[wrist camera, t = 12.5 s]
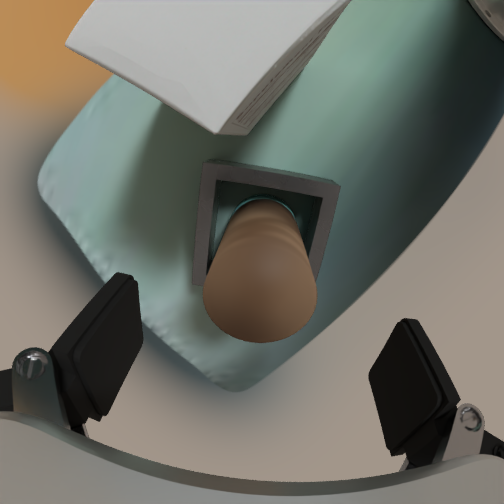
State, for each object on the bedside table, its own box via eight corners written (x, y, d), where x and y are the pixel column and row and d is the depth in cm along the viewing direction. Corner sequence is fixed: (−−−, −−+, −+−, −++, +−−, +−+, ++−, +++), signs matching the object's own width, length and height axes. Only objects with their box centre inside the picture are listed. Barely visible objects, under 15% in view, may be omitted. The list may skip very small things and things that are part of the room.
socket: (332, 180, 19) (340, 186, 17) (305, 286, 23) (309, 302, 21) (210, 159, 19) (202, 162, 17) (199, 268, 23) (192, 284, 20)
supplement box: (167, 86, 17) (55, 45, 5) (230, 14, 14) (189, -91, 3) (246, 139, 18) (212, 143, 7) (310, 66, 16) (369, -18, 4)
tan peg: (301, 200, 20) (331, 258, 11) (288, 260, 22) (301, 348, 13) (235, 189, 20) (207, 237, 11) (226, 250, 22) (200, 333, 13)
